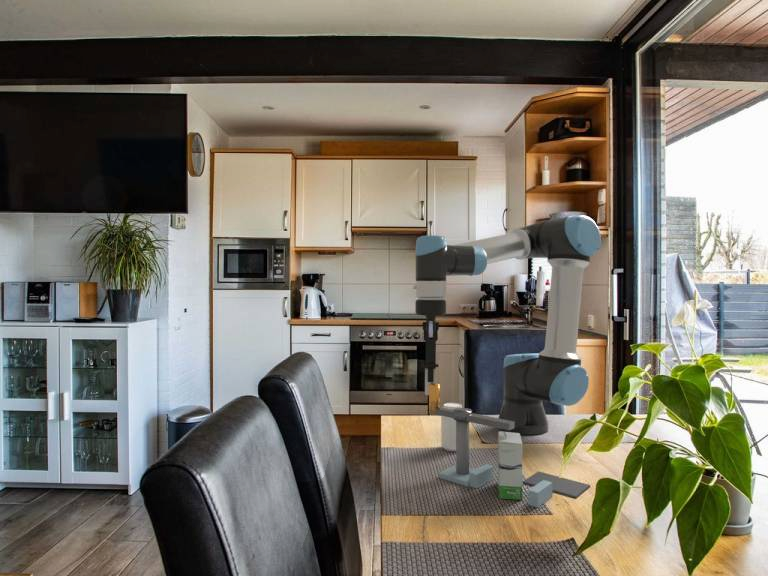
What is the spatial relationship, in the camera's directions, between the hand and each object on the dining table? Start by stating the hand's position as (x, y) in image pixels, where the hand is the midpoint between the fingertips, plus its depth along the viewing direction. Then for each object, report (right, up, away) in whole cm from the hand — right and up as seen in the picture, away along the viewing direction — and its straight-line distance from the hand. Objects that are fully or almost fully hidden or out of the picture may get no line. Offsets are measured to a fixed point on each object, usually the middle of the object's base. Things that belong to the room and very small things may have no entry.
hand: (430, 394), depth 122 cm
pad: (+27, -18, -12) cm, 34 cm away
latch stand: (+13, -18, -13) cm, 25 cm away
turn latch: (+8, -4, -9) cm, 12 cm away
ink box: (+16, -18, -15) cm, 28 cm away
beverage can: (+7, -18, +13) cm, 23 cm away
